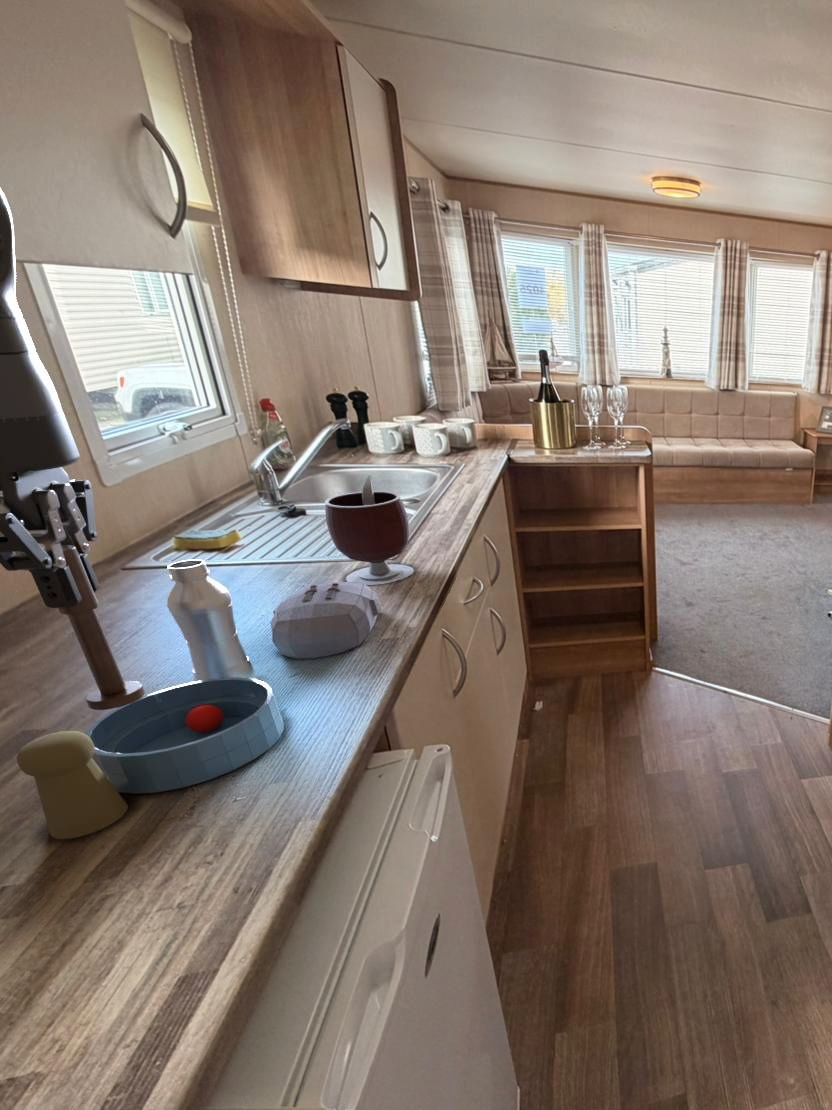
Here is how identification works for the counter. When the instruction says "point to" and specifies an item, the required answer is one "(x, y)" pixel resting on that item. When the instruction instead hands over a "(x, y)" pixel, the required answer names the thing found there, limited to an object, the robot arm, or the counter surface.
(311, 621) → the grey rounded bag
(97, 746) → the bowl
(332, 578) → the counter surface
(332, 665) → the counter surface
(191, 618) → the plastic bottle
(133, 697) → the wooden peg stand
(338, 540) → the mate gourd
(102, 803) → the cork
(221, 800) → the counter surface
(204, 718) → the tomato
